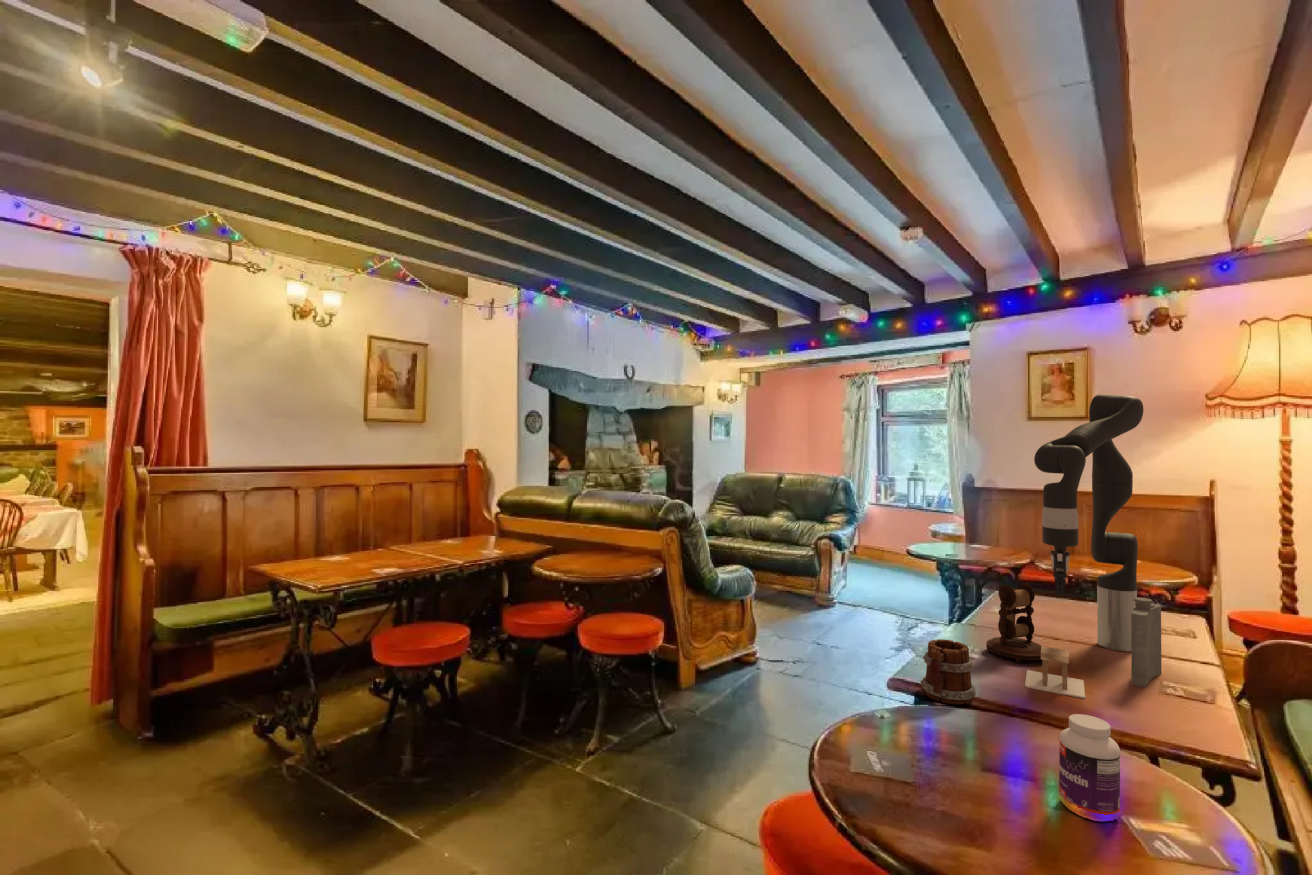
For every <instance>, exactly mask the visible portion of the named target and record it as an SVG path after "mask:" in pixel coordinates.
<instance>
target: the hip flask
mask: <svg viewBox="0 0 1312 875" xmlns="http://www.w3.org/2000/svg"><path fill="white" fill-rule="evenodd" d="M1134 601H1135V602H1136V603H1135V606H1136V607H1135V608H1134V609H1133V610H1132V611H1131V652H1130V653H1131V655H1130V657H1131V658H1130V659H1131V663H1130V664H1131V666H1130V667H1131V668H1130V669H1131V671H1130V672H1131V684H1132V685H1134V686H1137V687H1141V688H1147V687H1149V683H1150V682H1151V680H1152V679H1154V678H1155V677H1157V676H1160V675H1162V605H1161V604H1158V603H1157V604H1156V603H1153V599H1151V598H1146V597H1138V596H1137V597H1136V598H1134Z"/></svg>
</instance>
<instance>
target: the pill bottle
mask: <svg viewBox="0 0 1312 875" xmlns="http://www.w3.org/2000/svg"><path fill="white" fill-rule="evenodd" d="M1111 732H1112V731H1111V725H1110V723H1108V722H1107V721H1105V720H1103V718H1099V717H1095V716H1092V715H1088V714H1082V713H1081V714H1079V713H1074V714H1071V715H1069V717H1068V727H1066V728H1065V729H1063V730H1062V731H1061V732H1060V734H1059V758H1058V759H1059V763H1058V764H1059V766H1058V769H1059V773H1058V774H1059V775H1058V778H1059V779H1058V780H1059V782H1058V785H1059V786H1058V793H1059V792H1060V795H1061V796H1062V797H1063V798H1064V799H1065V800H1066V801H1068V802H1069V803H1070V804H1073V805H1075V806H1077V807H1078V808H1082V809H1084V810H1086V811H1088V812H1093V813H1098V814H1104V815H1106V814H1107V815H1109V814H1114V813H1117V812H1119V811H1120V812H1121V748H1120V746H1119V744H1118V743H1117V742H1116V741H1115V740H1114V739H1113V738H1111V737H1110V736H1111V734H1112V733H1111Z"/></svg>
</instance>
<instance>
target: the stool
mask: <svg viewBox="0 0 1312 875" xmlns="http://www.w3.org/2000/svg"><path fill="white" fill-rule="evenodd" d="M1069 657H1070V655H1069V650H1067V649H1060V648H1056V647H1049V646H1042V645H1041V660H1042V661H1041V663H1042V668H1041V669H1042V672H1041V673H1042V685H1043V686H1047V681H1048V674H1049V672H1048V670H1049V669H1048V668H1049V667H1048V666H1049V665H1048V664H1049V662H1055V663H1061V671H1062V672H1061V676H1062V689H1064V690H1067V677H1068V664H1070V662H1069ZM1048 661H1049V662H1048Z"/></svg>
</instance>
